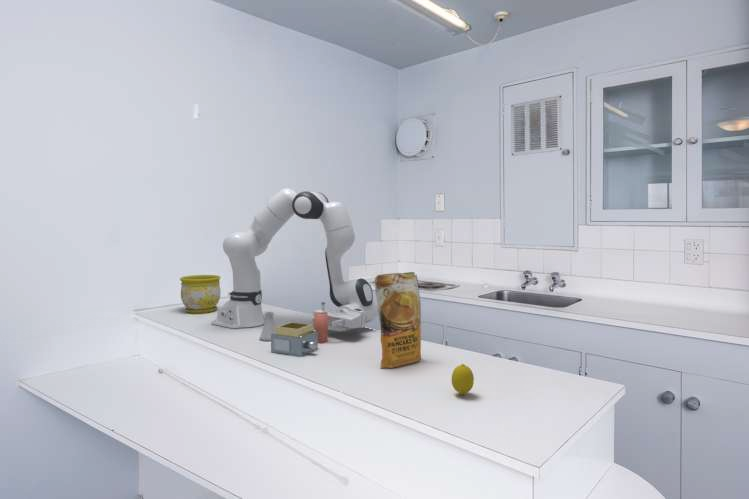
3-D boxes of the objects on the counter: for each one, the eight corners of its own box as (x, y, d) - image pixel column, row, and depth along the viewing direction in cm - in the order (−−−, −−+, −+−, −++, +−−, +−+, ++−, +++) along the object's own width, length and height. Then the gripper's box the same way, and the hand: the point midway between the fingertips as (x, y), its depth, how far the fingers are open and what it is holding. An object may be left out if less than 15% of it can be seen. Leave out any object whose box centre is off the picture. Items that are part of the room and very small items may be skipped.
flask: (274, 342, 169) (274, 314, 169) (255, 340, 171) (255, 313, 170) (282, 337, 176) (282, 310, 176) (264, 336, 178) (264, 310, 177)
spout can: (311, 342, 169) (311, 302, 168) (318, 339, 174) (318, 300, 173) (323, 343, 167) (323, 303, 166) (330, 340, 172) (330, 301, 171)
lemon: (477, 394, 120) (478, 363, 119) (466, 400, 116) (466, 368, 115) (458, 389, 123) (459, 359, 123) (447, 395, 119) (447, 364, 119)
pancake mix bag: (367, 365, 143) (368, 274, 141) (415, 355, 154) (415, 270, 152) (381, 371, 137) (382, 276, 135) (429, 360, 149) (430, 272, 147)
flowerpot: (228, 308, 231) (228, 275, 230) (204, 316, 213) (204, 280, 212) (197, 306, 236) (197, 274, 235) (172, 313, 219) (171, 278, 218)
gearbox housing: (270, 352, 156) (270, 327, 156) (288, 344, 166) (288, 321, 165) (309, 358, 150) (309, 331, 150) (325, 349, 160) (325, 325, 159)
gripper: (328, 304, 188) (302, 309, 177) (367, 311, 175) (342, 317, 164) (328, 320, 188) (302, 326, 177) (367, 328, 175) (342, 335, 165)
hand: (322, 322), depth 171 cm, fingers open, 8 cm apart
